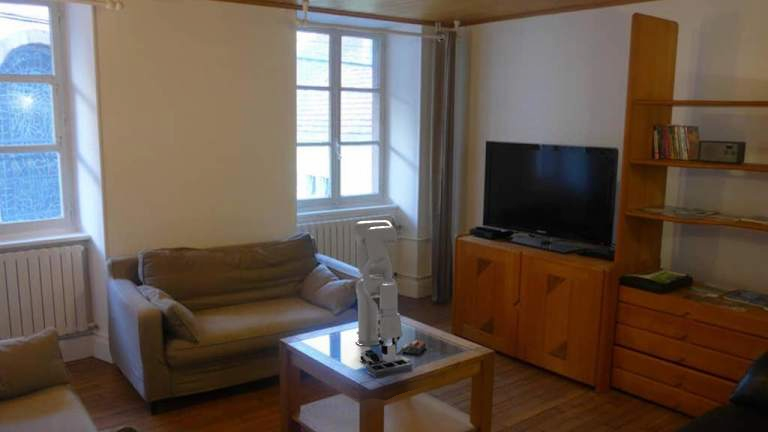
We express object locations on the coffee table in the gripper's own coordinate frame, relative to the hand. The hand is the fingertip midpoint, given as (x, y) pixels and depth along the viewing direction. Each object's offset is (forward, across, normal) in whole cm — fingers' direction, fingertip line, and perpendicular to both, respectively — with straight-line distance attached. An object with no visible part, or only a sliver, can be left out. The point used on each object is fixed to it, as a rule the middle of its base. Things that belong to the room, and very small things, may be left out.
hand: (388, 352), depth 290 cm
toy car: (+9, -2, +12) cm, 15 cm away
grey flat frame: (+8, 0, 0) cm, 8 cm away
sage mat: (+8, +10, +8) cm, 15 cm away
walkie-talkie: (+8, +21, +14) cm, 26 cm away
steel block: (+3, 0, 0) cm, 3 cm away
